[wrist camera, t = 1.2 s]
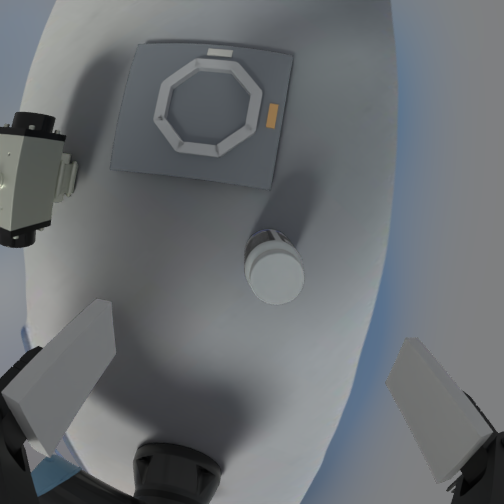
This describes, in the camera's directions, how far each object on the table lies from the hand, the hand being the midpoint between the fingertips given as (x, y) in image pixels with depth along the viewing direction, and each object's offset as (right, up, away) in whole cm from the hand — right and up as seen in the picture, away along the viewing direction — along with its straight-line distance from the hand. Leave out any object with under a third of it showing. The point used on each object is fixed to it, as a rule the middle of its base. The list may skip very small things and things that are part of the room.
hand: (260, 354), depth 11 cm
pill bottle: (+1, +4, +17) cm, 18 cm away
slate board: (-5, +18, +14) cm, 23 cm away
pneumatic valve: (-22, +13, +15) cm, 29 cm away
